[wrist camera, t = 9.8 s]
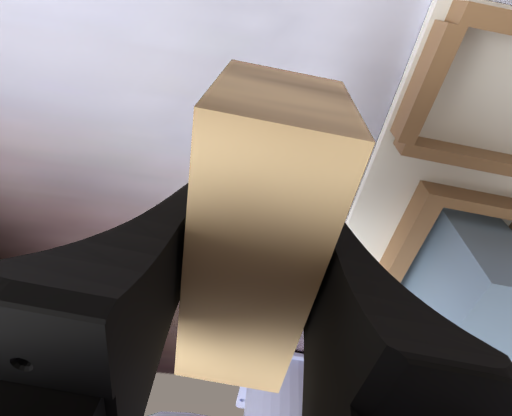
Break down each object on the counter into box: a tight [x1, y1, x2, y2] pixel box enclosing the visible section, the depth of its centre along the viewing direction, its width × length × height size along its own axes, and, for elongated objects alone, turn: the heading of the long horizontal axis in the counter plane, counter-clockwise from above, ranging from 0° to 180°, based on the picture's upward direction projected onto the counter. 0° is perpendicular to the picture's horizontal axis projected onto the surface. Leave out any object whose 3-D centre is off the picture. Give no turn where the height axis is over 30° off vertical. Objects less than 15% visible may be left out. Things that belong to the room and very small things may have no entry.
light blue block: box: [401, 207, 512, 361], centre depth 19 cm, size 8×4×6 cm, turn 170°
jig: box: [345, 0, 512, 283], centre depth 20 cm, size 21×13×2 cm, turn 170°
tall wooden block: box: [174, 60, 375, 393], centre depth 11 cm, size 9×4×5 cm, turn 170°
